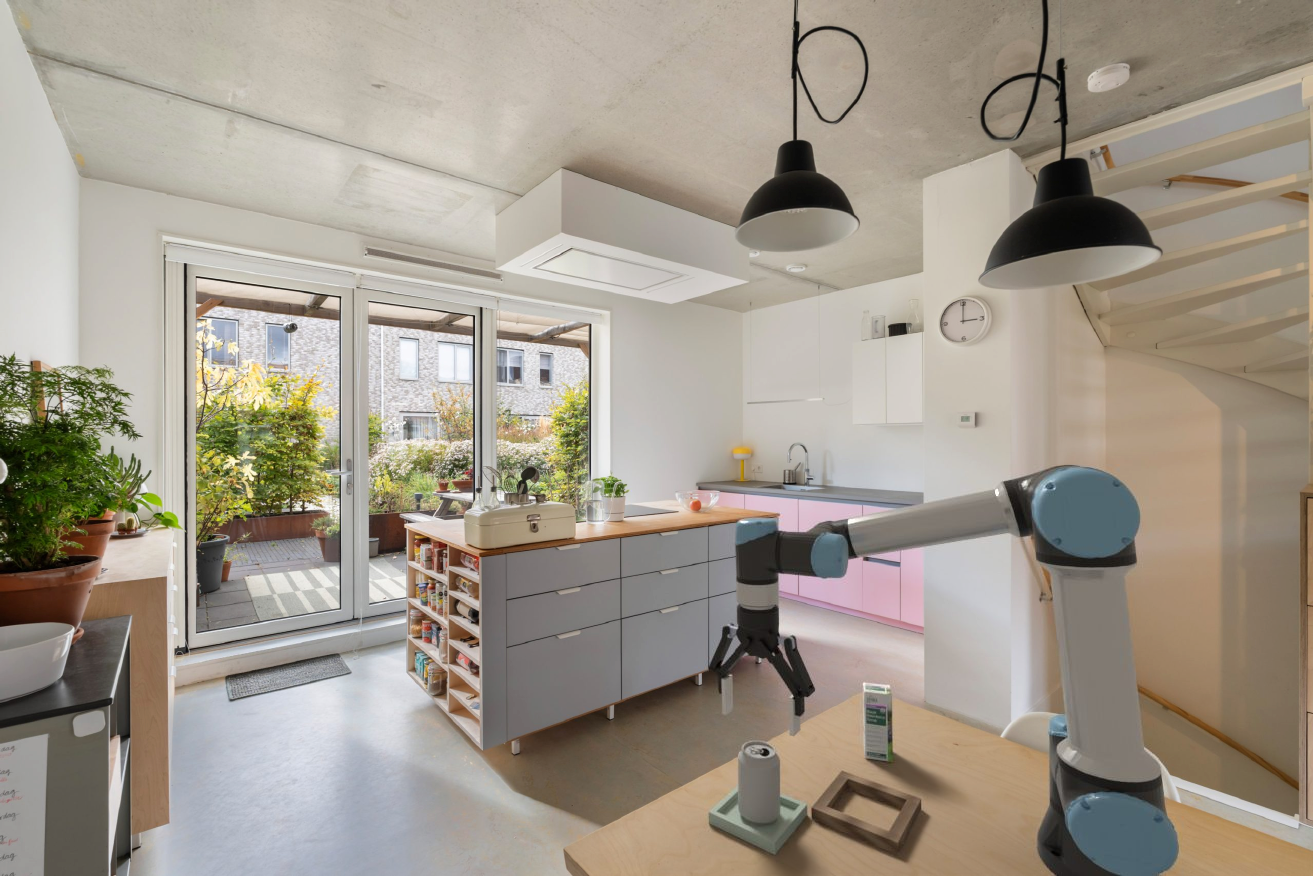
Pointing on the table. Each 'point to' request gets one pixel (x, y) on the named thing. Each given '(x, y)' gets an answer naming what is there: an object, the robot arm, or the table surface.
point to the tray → (759, 835)
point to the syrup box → (877, 722)
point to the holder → (859, 828)
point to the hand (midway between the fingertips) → (760, 722)
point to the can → (759, 782)
